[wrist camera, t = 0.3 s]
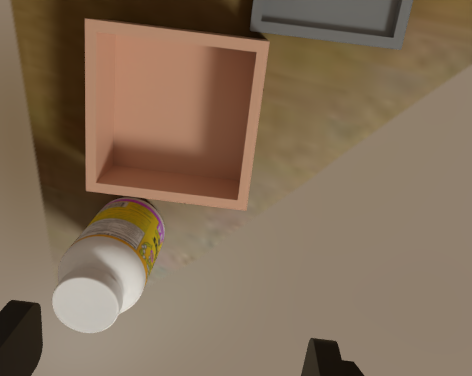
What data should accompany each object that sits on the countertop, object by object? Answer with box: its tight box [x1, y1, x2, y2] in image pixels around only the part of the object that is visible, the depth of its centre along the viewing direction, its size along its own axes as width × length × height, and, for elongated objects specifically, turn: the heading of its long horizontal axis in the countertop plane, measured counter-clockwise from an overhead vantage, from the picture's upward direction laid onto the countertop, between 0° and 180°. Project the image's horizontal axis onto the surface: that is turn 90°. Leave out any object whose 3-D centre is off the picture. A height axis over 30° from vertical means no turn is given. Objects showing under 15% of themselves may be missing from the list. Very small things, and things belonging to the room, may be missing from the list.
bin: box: [85, 19, 269, 211], centre depth 35 cm, size 13×13×6 cm
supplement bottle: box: [52, 197, 165, 333], centre depth 36 cm, size 7×7×13 cm
